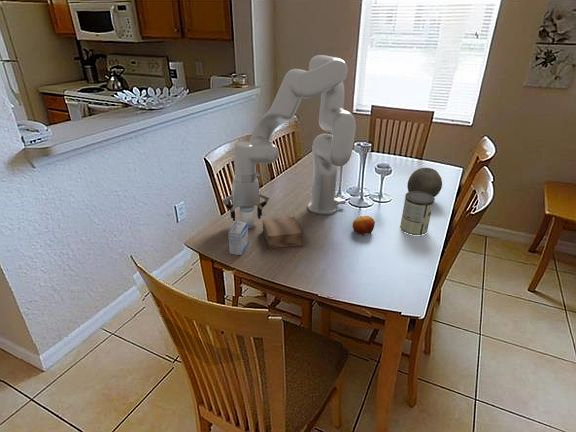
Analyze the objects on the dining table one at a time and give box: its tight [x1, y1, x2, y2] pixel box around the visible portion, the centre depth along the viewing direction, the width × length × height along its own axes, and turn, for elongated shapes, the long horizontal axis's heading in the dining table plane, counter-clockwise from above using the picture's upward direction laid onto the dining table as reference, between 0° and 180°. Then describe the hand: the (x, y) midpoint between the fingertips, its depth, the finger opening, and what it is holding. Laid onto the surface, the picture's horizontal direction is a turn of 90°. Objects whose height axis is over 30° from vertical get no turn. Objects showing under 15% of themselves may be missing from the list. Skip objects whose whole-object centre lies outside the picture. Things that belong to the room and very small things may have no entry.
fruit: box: [352, 215, 376, 237], centre depth 139 cm, size 8×8×8 cm
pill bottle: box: [239, 206, 255, 229], centre depth 142 cm, size 5×5×8 cm
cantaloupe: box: [407, 167, 443, 198], centre depth 163 cm, size 14×14×15 cm
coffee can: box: [399, 191, 435, 235], centre depth 140 cm, size 10×10×14 cm
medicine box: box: [227, 221, 249, 256], centre depth 128 cm, size 8×4×9 cm, turn 168°
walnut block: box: [262, 216, 303, 249], centre depth 135 cm, size 12×12×5 cm
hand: (246, 218), depth 143 cm, fingers open, 9 cm apart
